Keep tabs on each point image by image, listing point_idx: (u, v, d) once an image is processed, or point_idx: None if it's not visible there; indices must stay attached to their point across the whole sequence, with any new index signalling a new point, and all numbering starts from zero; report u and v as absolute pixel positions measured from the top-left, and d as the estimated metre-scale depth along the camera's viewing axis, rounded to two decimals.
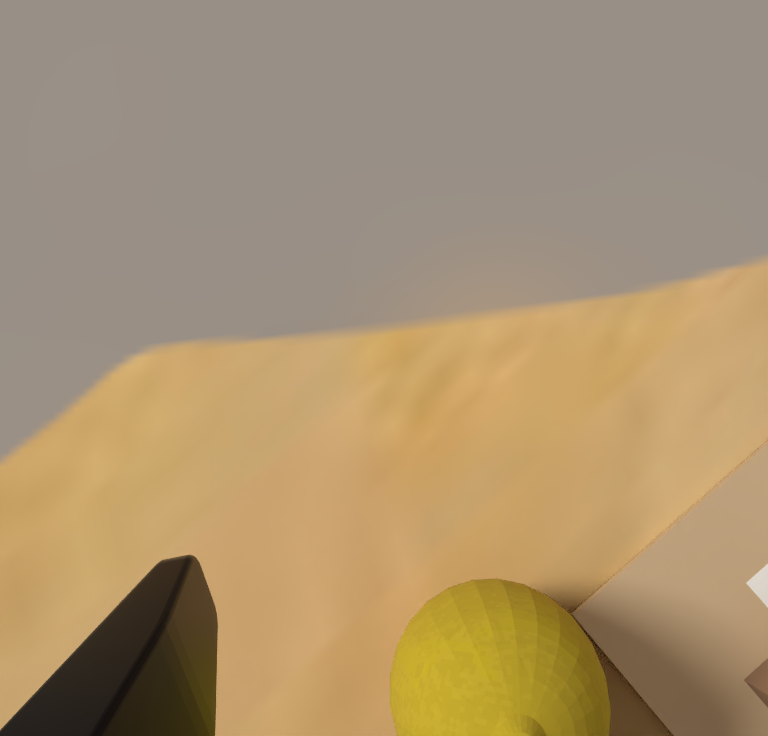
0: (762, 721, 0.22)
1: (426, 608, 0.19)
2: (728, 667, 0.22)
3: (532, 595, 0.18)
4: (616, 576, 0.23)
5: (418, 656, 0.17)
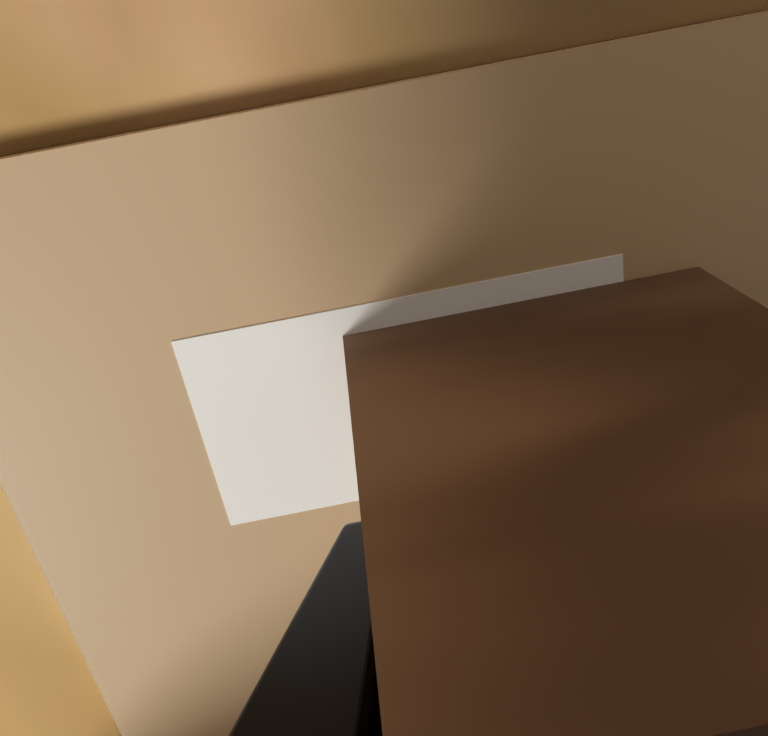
0: None
1: None
2: None
3: None
4: None
5: None
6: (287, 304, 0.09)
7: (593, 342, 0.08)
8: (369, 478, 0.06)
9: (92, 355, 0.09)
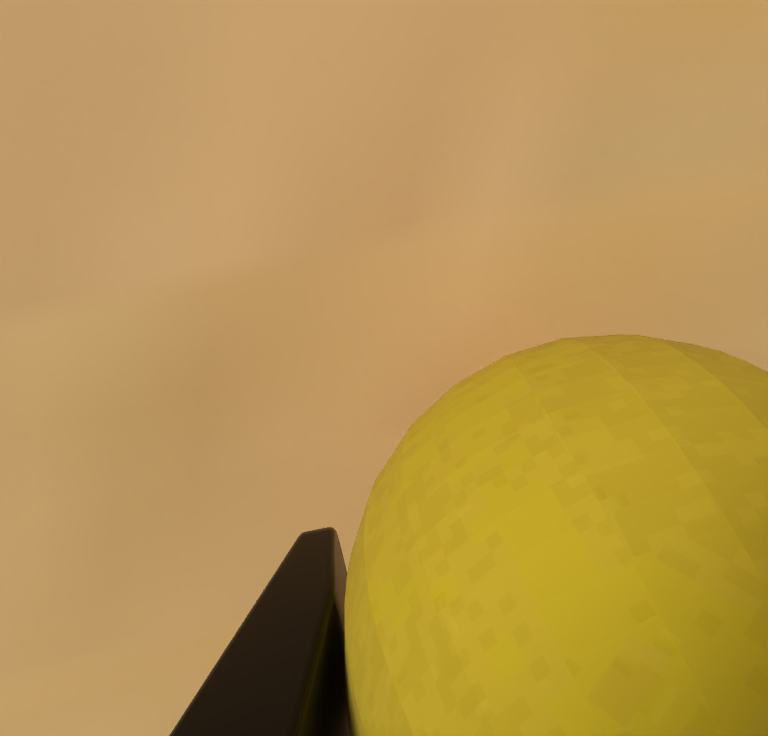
0: None
1: (634, 399, 0.05)
2: None
3: None
4: None
5: (628, 619, 0.04)
6: None
7: None
8: None
9: None
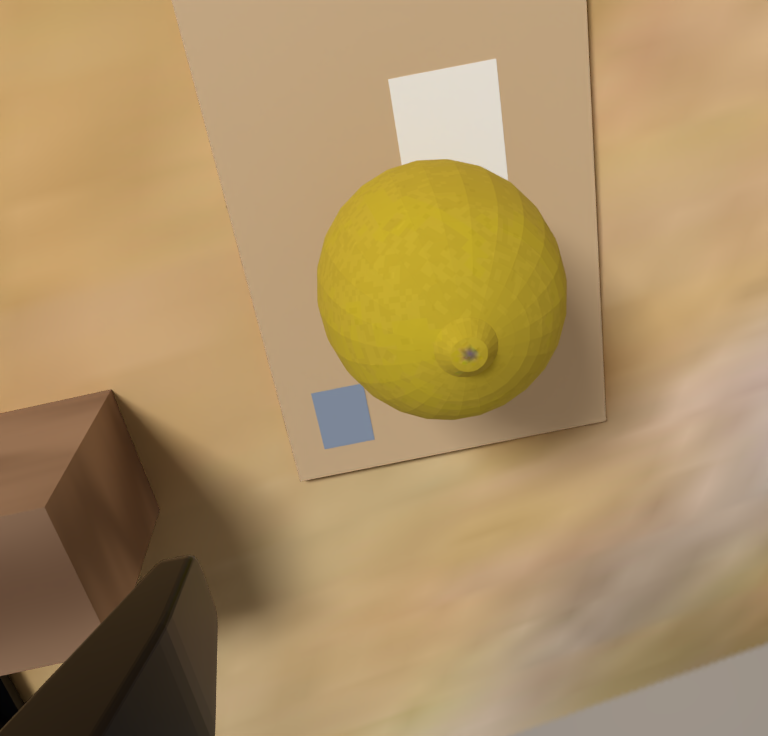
0: (320, 224, 0.20)
1: (419, 166, 0.15)
2: (317, 155, 0.19)
3: (541, 215, 0.15)
4: None
5: (396, 210, 0.14)
6: (508, 117, 0.19)
7: (129, 489, 0.21)
8: (82, 447, 0.19)
9: (492, 17, 0.18)
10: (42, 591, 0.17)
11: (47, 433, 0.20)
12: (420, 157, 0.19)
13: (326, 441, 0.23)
